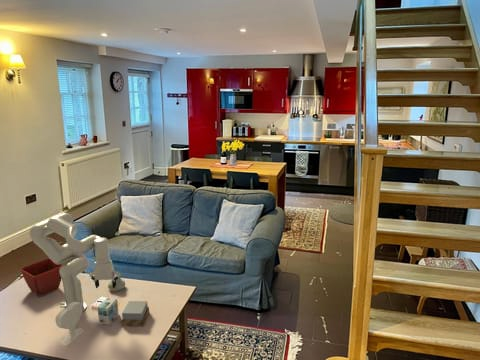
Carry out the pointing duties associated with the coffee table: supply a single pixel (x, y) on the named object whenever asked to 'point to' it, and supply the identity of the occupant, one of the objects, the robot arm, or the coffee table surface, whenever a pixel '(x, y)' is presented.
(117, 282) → the air freshener
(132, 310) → the tower top block
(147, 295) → the coffee table surface
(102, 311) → the light bulb box
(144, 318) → the tower base block
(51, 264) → the plant pot
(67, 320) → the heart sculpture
